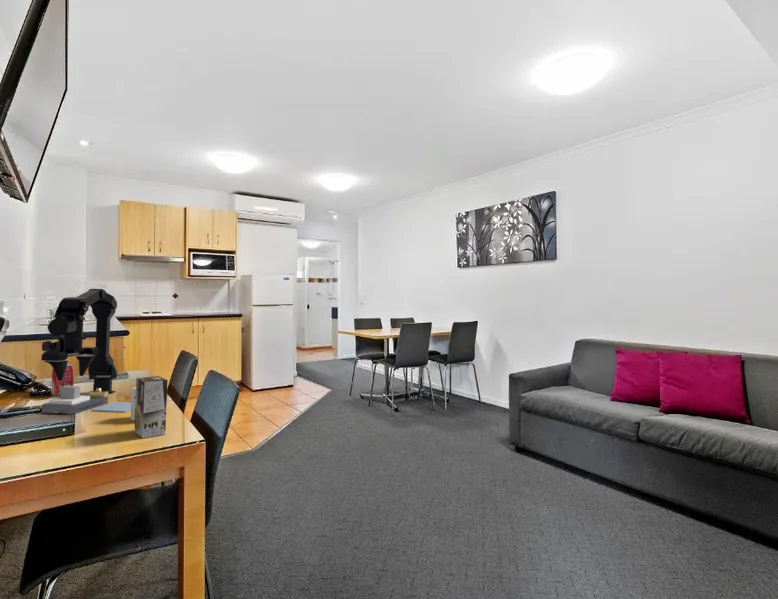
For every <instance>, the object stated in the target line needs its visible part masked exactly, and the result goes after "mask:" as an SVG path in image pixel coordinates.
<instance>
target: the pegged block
mask: <svg viewBox="0 0 778 599" xmlns="http://www.w3.org/2000/svg"><path fill="white" fill-rule="evenodd" d="M88 395H89V396H90V397H107V396H108V397H109V394H108V391H101V388H96V391H93V390H91V391H88Z"/></svg>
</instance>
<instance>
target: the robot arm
mask: <svg viewBox="0 0 778 599" xmlns="http://www.w3.org/2000/svg"><path fill="white" fill-rule="evenodd" d="M89 307H90V308H91V313H92V315H93V316H94V318H95V319H96V325H95V346H83V342H84V340H86V338H87V336H85V335H84V321H85V320H86V318H85V315H86V314H87V312H88V311H89ZM117 307H118V300H116V298H115V297H114V296H113V295H112V294H110V293H108V292H107V291H106V290H105V289H103V288H90V289H88V290H86V291H85V292H83V293H81V294H79V295H77V296H69V297H64V298H62V299H61V300H60V302H59V304H58V305H57V308H56V310H55V312H54V314H53V317H54V319H52V320H51V321H50V322H49V323H48V325H47V330H48V332H49V334H51V335H52V336H56V337H58V340H57V341H54V342H52V341H51V340H45V341H43V342H42V343H41V350H42V351H43V353H41V361H44V362H45V363H47V364H49V365H50V366H51V367H52V370H53V369H54V371H55V374H56V376H57V379H58V380H59V381H61V380H62V379H63V376H64V373H65V370H66V366H67V364H69V363H68V362H69V360H67V359H68V358H69V357H74V356H75V358H76V360H77V361H78V373H79V377H83V376H84V375H85V373H86V372H87V371H88V372H87V373H88V380H93V385H92V386H93V387H92V388H93V389H92V391H96V388H101V391H108V395H110V394H113V393H115V392H116V390H113V380H116V379H117V378H118V370H117V368H116V365H115V362H114V358H113V357H112V356H111V355H110V342H111V341H110V338H111V333H110V332H111V320H112V317H114V315H115V313H116V310H117Z"/></svg>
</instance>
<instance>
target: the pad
mask: <svg viewBox="0 0 778 599" xmlns="http://www.w3.org/2000/svg"><path fill="white" fill-rule="evenodd" d="M129 411H130V412H131V401H130V402H129V401H115V402H111V403H107V404H104V405H101V406H98V407H95V408H92V409H91V412H107V413H128V412H129Z"/></svg>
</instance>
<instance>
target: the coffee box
mask: <svg viewBox="0 0 778 599" xmlns="http://www.w3.org/2000/svg"><path fill="white" fill-rule="evenodd" d="M168 381H169V380H168V379H166V378H164V377H161V376H159V375H155V376H145V377H136V378H135V387H136V397H135V420H134V433H135V434H137V435H138V436H139V437H140V438H142V439H146V438H151V437H152V438H153V437H157V436H158V437H159V436H163V435H166V430H167V429H166V425H167V406H168V405H167V403H168V401H167V400H168Z"/></svg>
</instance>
